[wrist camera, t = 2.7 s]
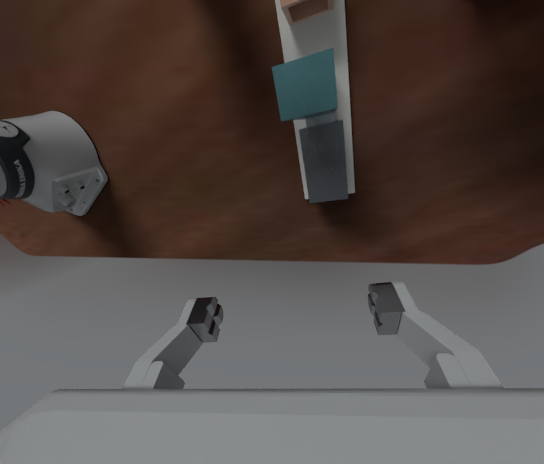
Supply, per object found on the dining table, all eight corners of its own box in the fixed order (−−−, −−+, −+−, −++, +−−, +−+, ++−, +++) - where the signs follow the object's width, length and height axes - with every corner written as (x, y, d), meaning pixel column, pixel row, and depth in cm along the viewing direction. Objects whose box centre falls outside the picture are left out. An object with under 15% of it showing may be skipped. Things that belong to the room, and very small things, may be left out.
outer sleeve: (346, 187, 36) (348, 198, 31) (312, 192, 37) (309, 203, 32) (341, 119, 31) (342, 119, 27) (303, 127, 33) (298, 129, 28)
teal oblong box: (339, 184, 35) (348, 248, 18) (316, 187, 36) (303, 250, 19) (329, 60, 28) (327, -26, 11) (301, 69, 29) (260, 2, 12)
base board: (354, 190, 37) (355, 192, 36) (305, 197, 39) (305, 199, 38) (339, -74, 24) (339, -82, 23) (270, -41, 27) (267, -47, 26)
